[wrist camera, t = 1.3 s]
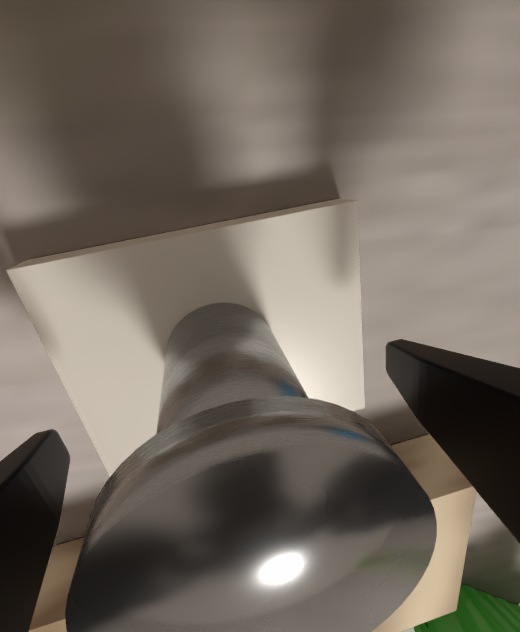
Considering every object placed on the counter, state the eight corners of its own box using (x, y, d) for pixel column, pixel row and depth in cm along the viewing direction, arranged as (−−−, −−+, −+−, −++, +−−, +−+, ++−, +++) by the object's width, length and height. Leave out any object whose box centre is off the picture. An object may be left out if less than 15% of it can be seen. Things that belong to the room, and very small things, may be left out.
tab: (340, 198, 11) (357, 200, 10) (351, 390, 14) (364, 407, 13) (26, 259, 10) (6, 270, 9) (117, 454, 13) (111, 478, 12)
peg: (286, 261, 10) (451, 399, 4) (304, 395, 12) (427, 623, 6) (116, 298, 10) (-23, 534, 3) (165, 432, 12) (141, 730, 5)
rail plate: (429, 434, 16) (481, 488, 14) (420, 553, 21) (459, 615, 18) (54, 545, 14) (21, 639, 11) (129, 654, 18) (118, 742, 16)
